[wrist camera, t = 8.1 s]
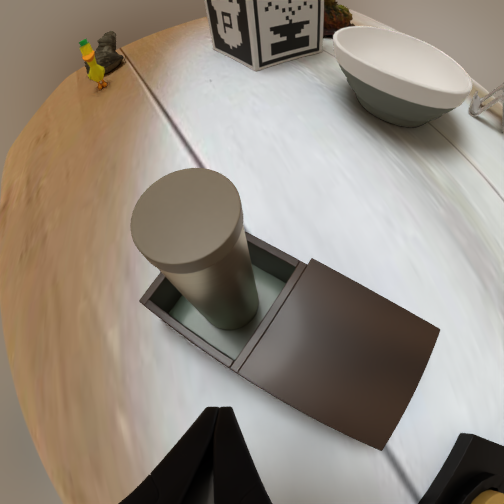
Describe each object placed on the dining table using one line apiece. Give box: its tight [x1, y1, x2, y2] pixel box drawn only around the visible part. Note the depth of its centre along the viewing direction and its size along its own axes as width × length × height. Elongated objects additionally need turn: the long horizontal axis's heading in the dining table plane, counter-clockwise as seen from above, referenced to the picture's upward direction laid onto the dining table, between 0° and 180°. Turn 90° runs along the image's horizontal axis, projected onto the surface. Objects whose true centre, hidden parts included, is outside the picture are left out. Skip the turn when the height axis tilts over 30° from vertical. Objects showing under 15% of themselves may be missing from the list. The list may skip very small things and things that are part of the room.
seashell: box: [85, 31, 123, 74], centre depth 46 cm, size 11×12×10 cm
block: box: [204, 0, 324, 71], centre depth 38 cm, size 15×15×15 cm
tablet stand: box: [468, 83, 504, 133], centre depth 30 cm, size 9×8×8 cm
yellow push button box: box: [419, 433, 504, 504], centre depth 11 cm, size 12×10×4 cm
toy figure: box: [79, 39, 107, 89], centre depth 40 cm, size 7×4×12 cm, turn 30°
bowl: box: [333, 26, 472, 127], centre depth 30 cm, size 20×20×10 cm
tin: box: [131, 168, 259, 330], centre depth 18 cm, size 5×5×13 cm
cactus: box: [323, 0, 355, 36], centre depth 46 cm, size 17×16×10 cm
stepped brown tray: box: [139, 232, 440, 451], centre depth 20 cm, size 9×20×4 cm, turn 57°
